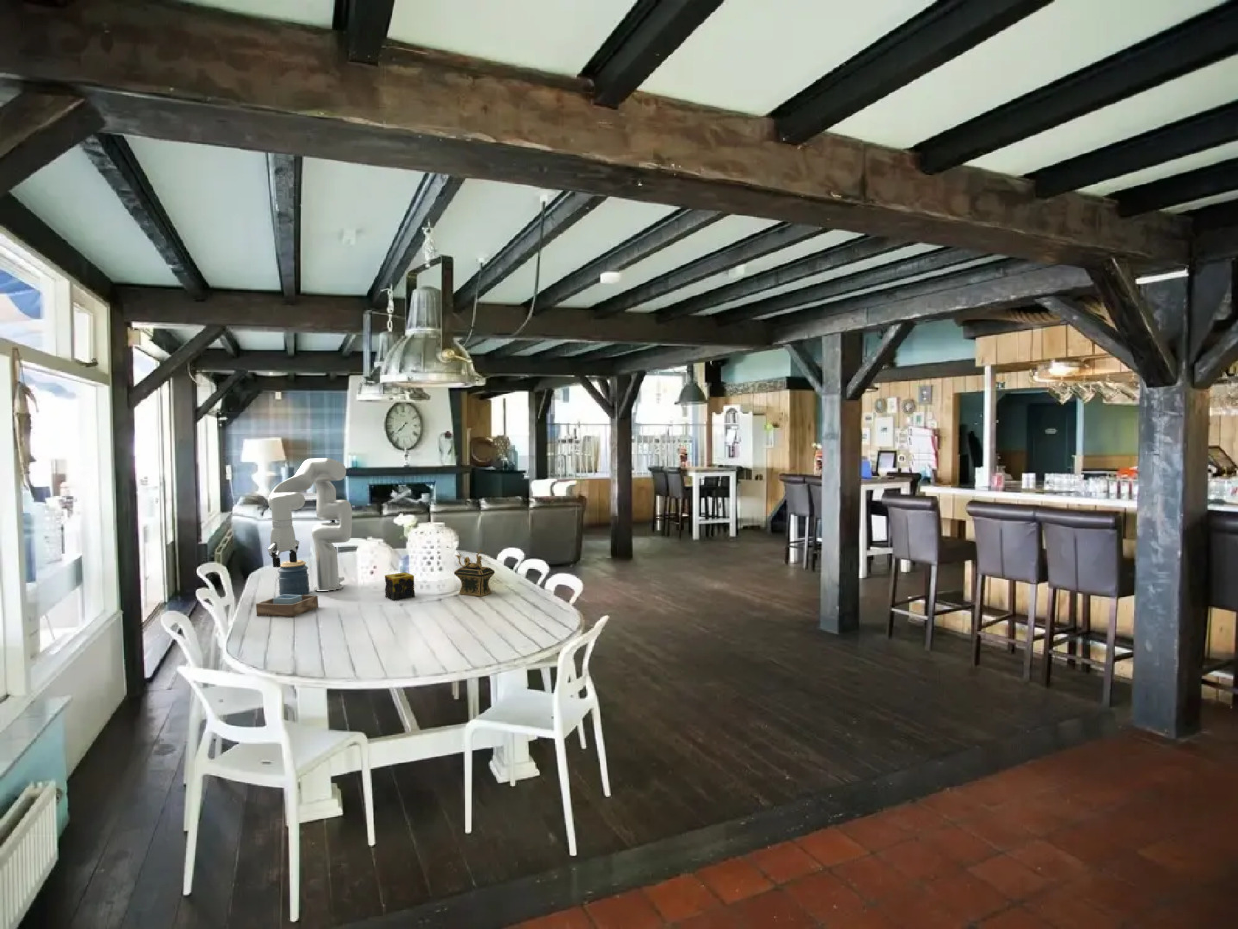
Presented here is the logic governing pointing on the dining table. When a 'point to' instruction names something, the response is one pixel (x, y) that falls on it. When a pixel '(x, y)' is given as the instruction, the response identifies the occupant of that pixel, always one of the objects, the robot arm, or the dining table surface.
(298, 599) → the blue crate
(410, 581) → the black gold cube box
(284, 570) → the canister
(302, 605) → the walnut crate
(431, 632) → the dining table surface
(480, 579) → the decorative box
